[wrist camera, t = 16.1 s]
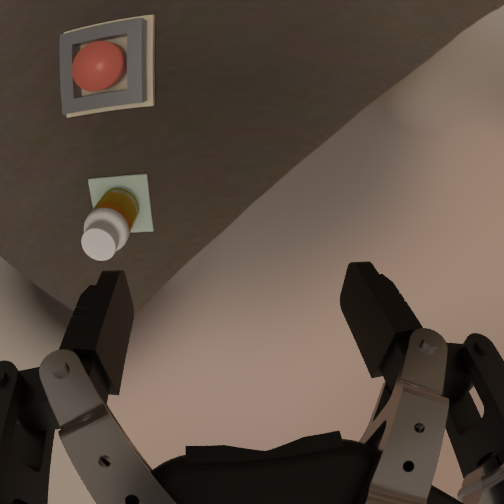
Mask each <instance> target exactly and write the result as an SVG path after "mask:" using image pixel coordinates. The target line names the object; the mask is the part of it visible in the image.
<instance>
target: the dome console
mask: <svg viewBox="0 0 504 504" xmlns="http://www.w3.org/2000/svg"><path fill="white" fill-rule="evenodd" d="M155 18H156V16H155V15H146V16H139V17H132V18H126V19H120V20H114V21H109V22H104V23H99V24H95V25H90V26H86V27H82V28H78V29H74V30H71V31H67V32H64V34H62V35H60V86H61V101H62V113H63V115H64V114H66V115H67V118H69V117H75V116H80V115H86V114H92V113H98V112H105V111H112V110H119V109H127V108H136V107H146V106H154V105H155ZM95 41H106V42H111V43H115V44H117V45H119V46H121V47H122V48H123V49H124V50H125V52H126V54H127V71H126V74H125V75H124V77H123V78H122V80H121V81H120V82H119V83H118V84H116V85H115V86H113V87H111V88H108V89H103V90H99V91H86V90H83V89H81V88H80V87H79V86H78V85H77V84H76V83H75V81H74V79H73V75H72V65H73V61H74V59H75V57H76V55H77V53H78V52H79V51H80V50H81V49H82V48H83V47H84V46H86V45H87V44H89V43H91V42H95Z"/></svg>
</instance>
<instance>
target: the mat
mask: <svg viewBox="0 0 504 504" xmlns="http://www.w3.org/2000/svg"><path fill="white" fill-rule="evenodd" d="M88 182H89V188H90V194H91V199H92V205H93V208H94V207H95V206H96V204H97V203H98V201H99V200H100V199H101V197H102V196H103V195H104V193H105V192H106V191H108V190H109V189H111V188H114V187H124V188H127V189H129V190H130V191H132V192H133V193H134V194H135V195H136V197H137V199H138V201H139V214H138V216H137V218H136V221H135V223H134V225H133V227H132V230H131V232H153V231H154V228H153V220H152V212H151V204H150V195H149V185H148V175H147V173H145V174H132V175H120V176H109V177H99V178H89V179H88ZM131 232H130V233H131Z"/></svg>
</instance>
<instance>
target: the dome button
mask: <svg viewBox="0 0 504 504" xmlns="http://www.w3.org/2000/svg"><path fill="white" fill-rule="evenodd" d="M126 71H127V54H126V52H125V50H124V49H123V48H122V47H121V46H119V45H117V44H115V43H111V42H106V41H95V42H91V43H89V44H87V45H86V46H84V47H83V48H82V49H81V50H80V51H79V52H78V53H77V55H76V57H75V59H74V61H73V65H72V75H73V79H74V81H75V83H76V84H77V85H78V86H79V87H80V88H81V89H83V90H86V91H99V90H103V89H108V88H111V87H113V86H115V85H116V84H118V83H119V82H120V81H121V80H122V78H123V77H124V75H125V74H126Z"/></svg>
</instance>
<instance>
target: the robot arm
mask: <svg viewBox="0 0 504 504" xmlns="http://www.w3.org/2000/svg"><path fill="white" fill-rule="evenodd" d="M340 305H341V310H342V312H343V314H344V317H345V319H346V321H347V323H348V325H349V328H350V330H351V332H352V334H353V336H354V339H355V341H356V343H357V345H358V348H359V350H360V352H361V355H362V357H363V359H364V361H365V364H366V366H367V368H368V371H369V373H370V375H371V378H375V377H380V376H383V377H384V379H385V382H384V383H383V386H382V388H381V391H380V394H379V397H378V400H377V403H376V406H375V409H374V411H373V414H372V417H371V419H370V422H369V425H368V427H367V429H366V431H365V432H364V434H363V436H362V437H361V439H360V441H359V442H357V441H353V440H346V439H342V438H341V434H340V431H335V432H330V433H325V434H319V435H313V436H307V437H303V438H300V439H298V440H295V441H293V442H290V443H288V444H285V445H282V446H280V447H277V448H274V449H271V450H268V451H259V450H252V449H245V448H238V447H232V446H226V445H218V446H186V455H183V456H179V457H176V458H174V459H170V460H169V461H166V462H164V463H162V464H161V465H159V466H158V467H156V468H155V469H154V470H153V469H152V468H151V467H150V466H149V464H148V463H147V462H146V461H145V459H144V458H143V457H142V455H141V454H140V453H139V451H138V450H137V449H136V447H135V446H134V445H133V443H132V442H131V441H130V439H129V438H128V436H127V435H126V433H125V432H124V430H123V429H122V427H121V426H120V424H119V423H118V421H117V420H116V418H115V417H114V415H113V414H112V412H111V410H110V409H109V407H108V406H107V399H108V394H112V395H119V392H120V386H121V380H122V374H123V369H124V363H125V357H126V353H127V347H128V343H129V338H130V333H131V329H132V324H133V319H134V308H133V302H132V298H131V295H130V291H129V287H128V283H127V279H126V275H125V272H124V271H123V270H116V271H102V273H101V275H100V277H99V280H98V282H97V284H96V285H90V286H89V287H88V288H87V289H86V290H85V291H84V292H83V293H82V294H81V296H80V298H79V300H78V303H77V305H76V308H75V310H74V312H73V317H71V319H70V322H69V325H68V327H67V330H66V332H65V335H64V338H63V340H62V343H61V346H60V348H59V350H56V351H54V352H52V353H50V354H49V355H47V356H46V357H45V358H44V360H43V361H42V363H41V365H40V367H37V368H32V369H27V370H22V371H18V370H17V368H16V367H15V365H14V364H13V363H11V362H9V361H0V504H47V502H48V485H49V473H50V463H51V454H52V446H53V439H54V432H55V429H61V430H60V431H59V432H58V433H59V437H60V439H61V441H62V444H63V445H64V448H65V449H66V452H67V454H68V456H69V457H70V459H71V461H72V463H73V465H74V467H75V469H76V470H77V472H78V474H79V476H80V477H81V479H82V481H83V483H84V484H85V486H86V487H87V489H88V491H89V492H90V494H91V496H92V497H93V499H94V500H95V502H96V504H504V361H503V359H502V358H501V356H500V354H499V352H498V351H497V350H496V348H495V346H494V344H493V343H492V342H491V341H490V340H489V339H488V338H487V337H485V336H483V335H481V334H478V333H474V334H470V335H469V336H468V337H467V339H466V340H465V342H464V343H463V344H456V343H446V341H445V340H444V338H443V337H442V336H441V335H440V334H439V333H437V332H435V331H434V330H431V329H427V328H423V327H422V325H421V324H420V322H419V321H418V319H417V318H416V316H415V315H414V313H413V311H412V310H411V308H410V307H409V306H408V304H407V302H406V301H404V298H403V297H402V295H401V294H399V291H398V289H397V288H396V286H395V285H394V283H393V282H392V281H391V280H389V279H388V278H387V277H385V276H384V275H383V274H379V273H378V272H377V270H376V269H375V268H374V266H373V264H372V263H371V262H352V263H350V264H349V265H348V268H347V272H346V276H345V280H344V283H343V287H342V291H341V295H340ZM473 386H474V387H475V389H476V391H477V393H478V395H479V397H480V399H481V401H482V403H483V405H484V415H483V417H482V418H481V417H480V414H479V412H478V410H477V407H476V405H475V403H474V401H473V399H472V397H471V395H470V393H469V391H470V390H471V389H472V387H473ZM445 428H446V430H447V433H448V436H449V438H450V441H451V444H452V446H453V449H454V452H455V455H456V457H457V460H458V463H459V466H460V469H461V472H462V474H463V478H464V480H463V483H462V488H461V489H460V490H459V491H458V499H459V500H460V501H462V502H460V501H458V500H456V499H455V498H453V497H451V496H450V495H448V494H446V493H444V492H443V491H441V490H439V489H438V488H436V487H434V486H433V485H432V481H433V477H434V474H435V470H436V467H437V462H438V459H439V454H440V449H441V446H442V441H443V436H444V431H445Z"/></svg>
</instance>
